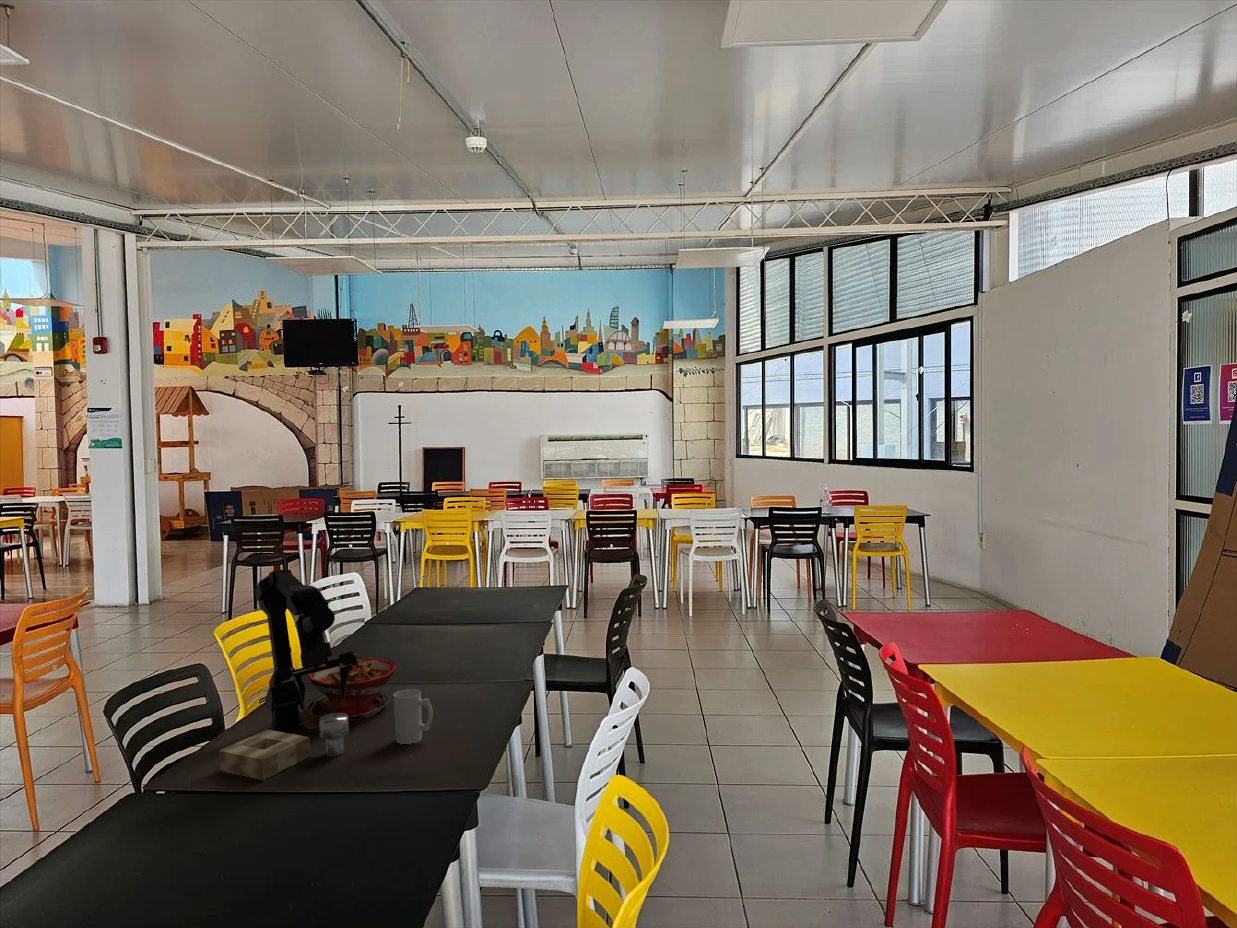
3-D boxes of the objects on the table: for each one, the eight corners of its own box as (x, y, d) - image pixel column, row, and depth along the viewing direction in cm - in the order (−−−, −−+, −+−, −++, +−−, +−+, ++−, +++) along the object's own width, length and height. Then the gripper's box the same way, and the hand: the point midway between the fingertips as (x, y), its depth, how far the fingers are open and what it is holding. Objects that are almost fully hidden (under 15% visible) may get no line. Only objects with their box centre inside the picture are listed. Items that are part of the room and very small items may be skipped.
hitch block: (219, 771, 191) (218, 750, 191) (268, 749, 204) (267, 729, 204) (263, 781, 185) (262, 759, 185) (310, 757, 198) (309, 737, 198)
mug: (390, 744, 205) (388, 697, 204) (402, 734, 211) (400, 688, 211) (427, 746, 203) (426, 698, 202) (439, 736, 209) (437, 690, 209)
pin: (314, 756, 198) (313, 720, 198) (334, 746, 204) (333, 711, 204) (335, 761, 195) (333, 723, 195) (355, 750, 201) (353, 714, 201)
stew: (364, 734, 212) (362, 673, 212) (281, 729, 217) (279, 670, 216) (413, 698, 240) (410, 644, 239) (338, 695, 245) (336, 642, 244)
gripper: (265, 645, 188) (276, 713, 184) (349, 624, 193) (362, 690, 189) (272, 651, 198) (283, 716, 194) (352, 631, 204) (364, 694, 199)
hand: (323, 704), depth 194 cm, fingers open, 9 cm apart
